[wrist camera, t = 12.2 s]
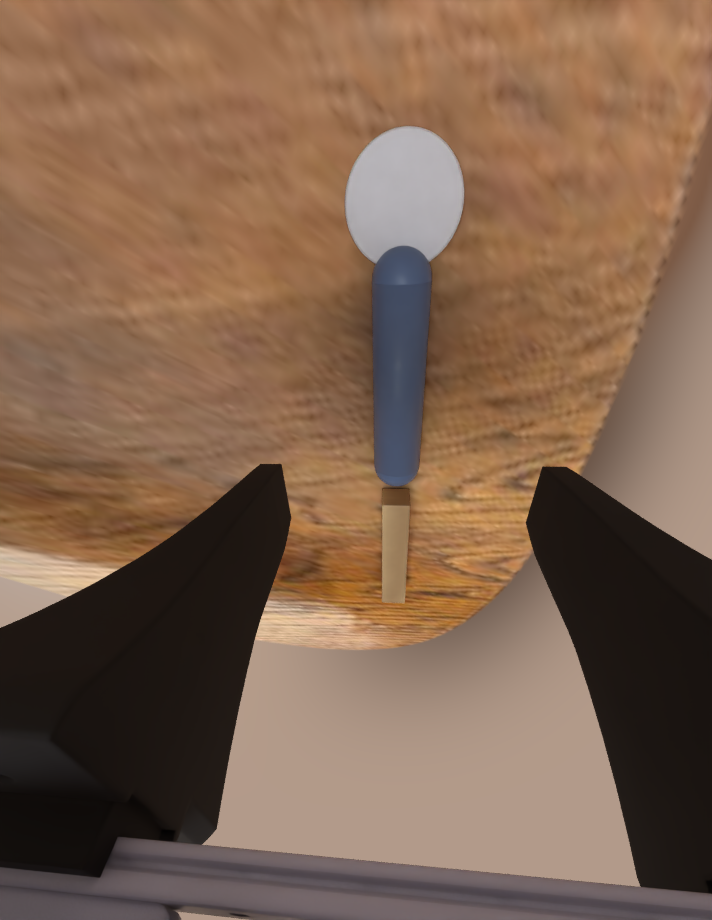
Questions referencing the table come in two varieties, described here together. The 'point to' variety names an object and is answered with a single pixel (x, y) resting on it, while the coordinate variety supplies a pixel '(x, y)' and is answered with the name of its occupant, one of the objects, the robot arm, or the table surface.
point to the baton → (394, 543)
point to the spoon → (402, 275)
